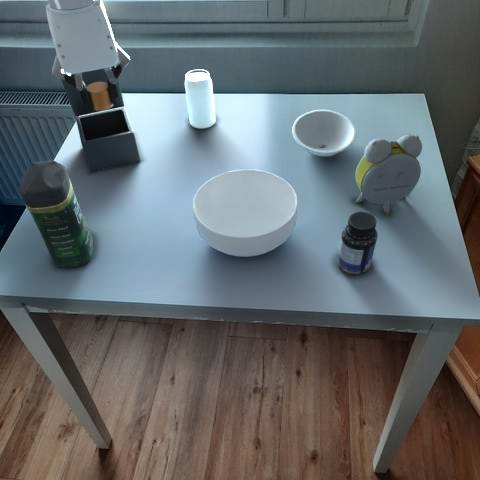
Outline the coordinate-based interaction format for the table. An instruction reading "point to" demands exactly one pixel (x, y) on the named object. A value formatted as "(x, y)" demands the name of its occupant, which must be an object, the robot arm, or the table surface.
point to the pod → (100, 96)
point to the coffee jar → (57, 213)
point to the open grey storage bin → (107, 139)
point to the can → (200, 99)
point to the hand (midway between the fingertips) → (102, 103)
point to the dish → (324, 132)
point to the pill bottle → (357, 243)
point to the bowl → (245, 212)
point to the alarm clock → (389, 170)
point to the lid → (88, 79)
